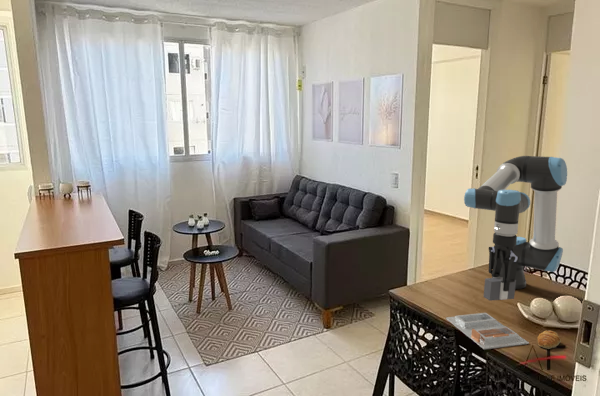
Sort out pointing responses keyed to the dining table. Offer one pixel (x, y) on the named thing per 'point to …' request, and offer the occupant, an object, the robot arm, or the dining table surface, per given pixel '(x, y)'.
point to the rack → (486, 331)
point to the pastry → (548, 339)
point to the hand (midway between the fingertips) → (499, 296)
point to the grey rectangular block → (497, 289)
